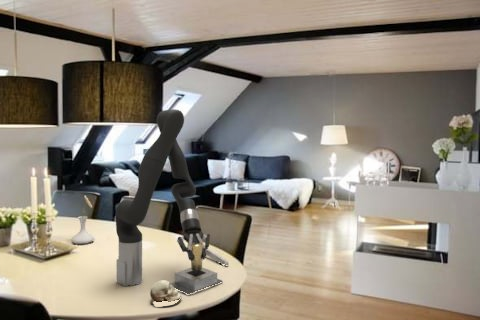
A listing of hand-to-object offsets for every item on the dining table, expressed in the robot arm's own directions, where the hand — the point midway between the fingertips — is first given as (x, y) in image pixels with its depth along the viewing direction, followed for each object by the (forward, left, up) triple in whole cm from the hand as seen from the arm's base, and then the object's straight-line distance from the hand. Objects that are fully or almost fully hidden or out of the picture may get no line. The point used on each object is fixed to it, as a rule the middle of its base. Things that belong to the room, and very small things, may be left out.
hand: (198, 259), depth 161 cm
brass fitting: (+1, +2, -5) cm, 5 cm away
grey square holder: (+1, +2, -11) cm, 11 cm away
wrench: (+26, +22, -12) cm, 37 cm away
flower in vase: (-4, +88, -11) cm, 89 cm away
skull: (-17, -1, -12) cm, 21 cm away
